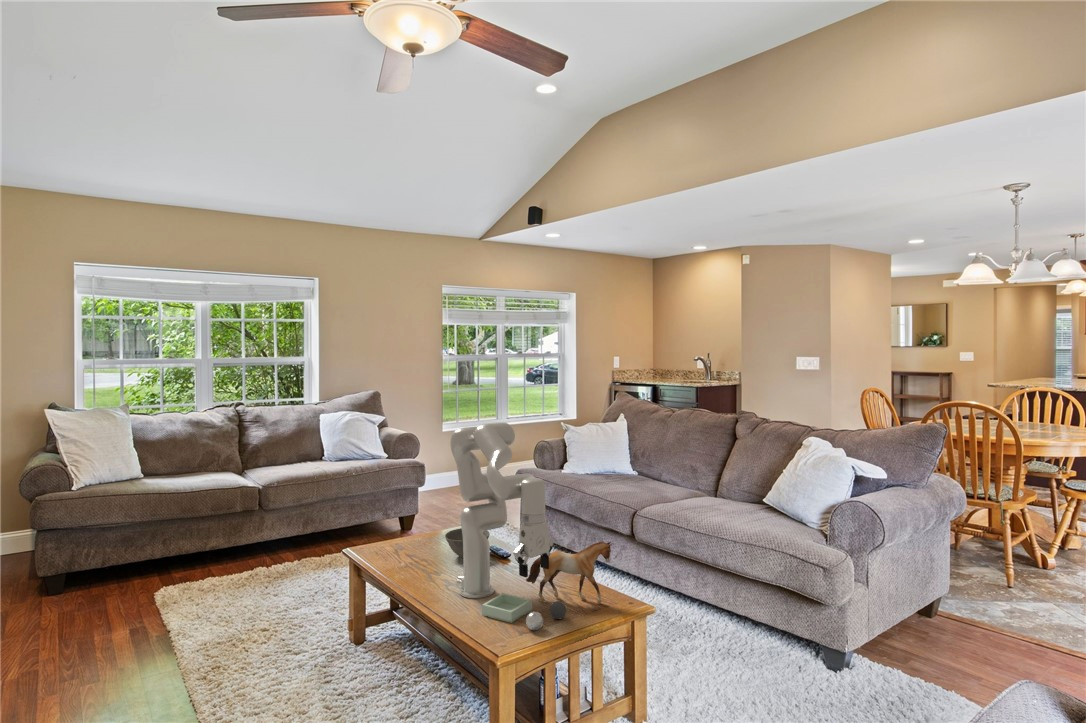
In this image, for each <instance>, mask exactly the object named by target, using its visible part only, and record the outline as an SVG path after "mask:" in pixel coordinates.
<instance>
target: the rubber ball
mask: <svg viewBox="0 0 1086 723" xmlns="http://www.w3.org/2000/svg"><path fill="white" fill-rule="evenodd" d="M567 610H568V609H567V606H566V604H565V603H564V602H563V601H559V600H556V601H554V602H552V603H551V604H550V606H549V612H550V616H551V617H552V618H553V619H556V620H561V619H563V618H564V617H565V616H566V614H567Z"/></svg>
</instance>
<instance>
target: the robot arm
mask: <svg viewBox="0 0 1086 723" xmlns="http://www.w3.org/2000/svg"><path fill="white" fill-rule="evenodd" d="M515 438H516V433H515V430H514V428H513V427H512V426H511V424H509V423H508V422H495V423H494V422H493V423H486V424H485V423H484V424H482V425H479V426H466V427H461V428H458V429H456V430H454V431H453V432H452V433H451V436H450V451H451V453H452V456H453V458H454V461H455V464H456V468H457V476H458V484H459V490H460V491H459V492H460V496H461V498H462V499H463V501H464V502H467V503H469V502H471V503H472V502H479V501H486V500H488V502H487V503H481V504H475V505H474V504H473V505H470V506H466V507H465V508H464V509H463V510H462V511H461V512H460V514H459V522H460V528H462V534H463V558H462V559H463V562H462V564H463V576H461V575H459V576H458V578H457V579H456V581H455V583H456V584H458V585H461V587H460V588H459V594H460V595H461V596H462V597H464V598H467V599H482V598H487V597H490V596H492V595H493V593H494V592H495V587H494V585H492V584H491V572H490V571H491V568H490V567H491V565H490V564H491V563H490V561H491V560H490V559H491V557H490V555H491V554H490V552H491V551H490V541H489V538H488V539H487V538H486V537H485V535H484V534H483V532H484V531H490V530H491V531H492V530H496V529H500V528H503V527H504V526H505V525H506V524H507V521H508V510H507V504H506V501H510V500H515V499H521V501H520V502H521V517H520V527H519V536H518V546H517V547H516V548H515V550H514V551H513V552H512V554H513V557H514V560H515V561H516V562H517V564H518V574H519V576H520V577H523V578H528V577H529V570H528V569H529V567H528V564H527V562H528V560H529V559H532V558H535V557H539V556H540V569H543V568H544V569H549V556H550V553H552V549H553V545H554V539H552V538H550V530H549V529H550V528H549V523H548V520H546V483H545V480H544V479H542V478H539V477H536V476H535V475H533V474H532V473H521V474H513V475H505V476H503V475H502V474H501V472H500V471H499V470H501V469H502V468H504V467H505V466H506V465H508V463H510V461H511V460H512V457H513V452H512V450H511V447H510V446H511V445H513V443H514V442H515ZM477 450H480V451H481V453H482V454H483V456H485V458H486V460H487V461H488V464H487V467H486V473H482V469H481V462H480V460H479V458H478V456H476V454H474V452H472V451H477Z"/></svg>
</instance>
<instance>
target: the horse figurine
mask: <svg viewBox="0 0 1086 723" xmlns="http://www.w3.org/2000/svg"><path fill="white" fill-rule="evenodd" d="M612 545H613V543H612V541H608V542H605V541H599V542H598V541H597V542H595V543H591V544H590V545H589V546H587V547H585V548H584V549H582V550H580V551H578V552H577V553H566V552H564V551H561V550H555V551H551V552H550V556H549V569H544V568H542V571H543V574H544V576H543V579H542V580H541V581H540V582H539V591H538V592H539V593H538V597H539V601H540V602H541V603H545V602H546V599H545V598H544V596H543V590H544V587H545V585H546V584H547V583H549V585H550V586H551V588H552V591H553V592H554V593H553V595H554V597H555V598H556V599H558V598H559V592H558V589H557V587H556V586H555V584H554V581H553V580H554V578H556V577H557V576H558V575H559V573H560V572H562V573H565V574H569V575H570V574H571V575H580V578H579V586H578V587H579V588H578V593H577V594H578V595H579V596H580V598H579V599H580V600H581V599H582V600H581V601H586V600H587V599H586V597H585V596H584V595H583V593H582V589H583V586H584V581H585V578H586V579H587V580H588V581H589V583H591V584H592V586H593V587H594V588H595V590H596V593H597V600H596V601H597V603H598V604H599V605H601V604H602V594H601V592H600V588H599V585H598V584H597V582H596V579H595V577H594V573H595V564H596V562H597V560H598V558H599V556H600V555H602V557H603V558H604V560H605V562H606V563H610V562H611V552H612V550H611V546H612ZM529 568H530V569H529V573H528V577H525V581H526V582H528V583H531V584H535V583H536V581H537V579H538V578H539V576H540V572H541V566H540V557H539V556H538V558H536V559H535V560H534V561H533V562H532V564H531V566H530V567H529Z"/></svg>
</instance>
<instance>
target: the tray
mask: <svg viewBox="0 0 1086 723" xmlns="http://www.w3.org/2000/svg"><path fill="white" fill-rule="evenodd" d="M532 610H533V600H532V599H529V598H525V597H523V596H522V597H521V596H517V595H513V594H509V593H504V592H502V593H501V594H498V595H497V596H495V597H493V598H492V599H490V600H488V601H486V602H484V603H483V604H481V616H483V615H485V616H484V617H487V616H488V617H487V618H491V619H495V620H499V621H503V622H506V623H510V624H513V623H514V622H516V621H517V620H519V619H520V618H522V617H523V615H524V616H525V615H528V614H529V613H531V612H532Z"/></svg>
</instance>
